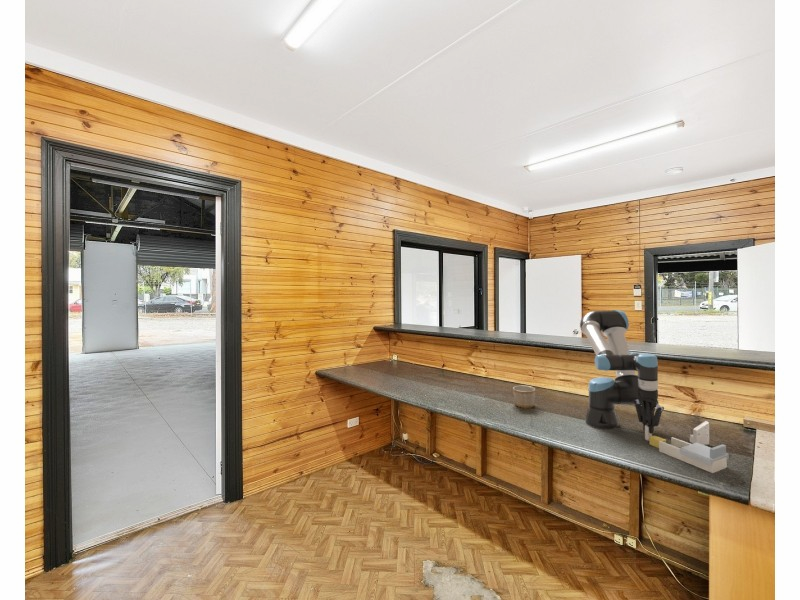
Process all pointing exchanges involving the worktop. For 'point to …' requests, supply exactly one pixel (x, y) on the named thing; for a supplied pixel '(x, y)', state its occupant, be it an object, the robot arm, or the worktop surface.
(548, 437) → the worktop surface
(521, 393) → the planter
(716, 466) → the long white channel rail
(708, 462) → the cover
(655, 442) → the mustard yellow cuboid
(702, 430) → the white angled block
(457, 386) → the worktop surface
